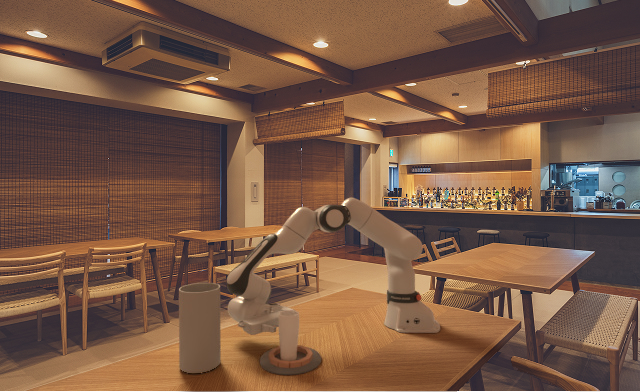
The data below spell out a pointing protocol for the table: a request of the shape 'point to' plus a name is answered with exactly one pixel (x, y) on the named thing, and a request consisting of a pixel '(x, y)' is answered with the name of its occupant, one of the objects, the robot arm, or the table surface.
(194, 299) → the cylinder vase
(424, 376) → the table surface
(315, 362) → the round tray
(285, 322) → the drinking glass
